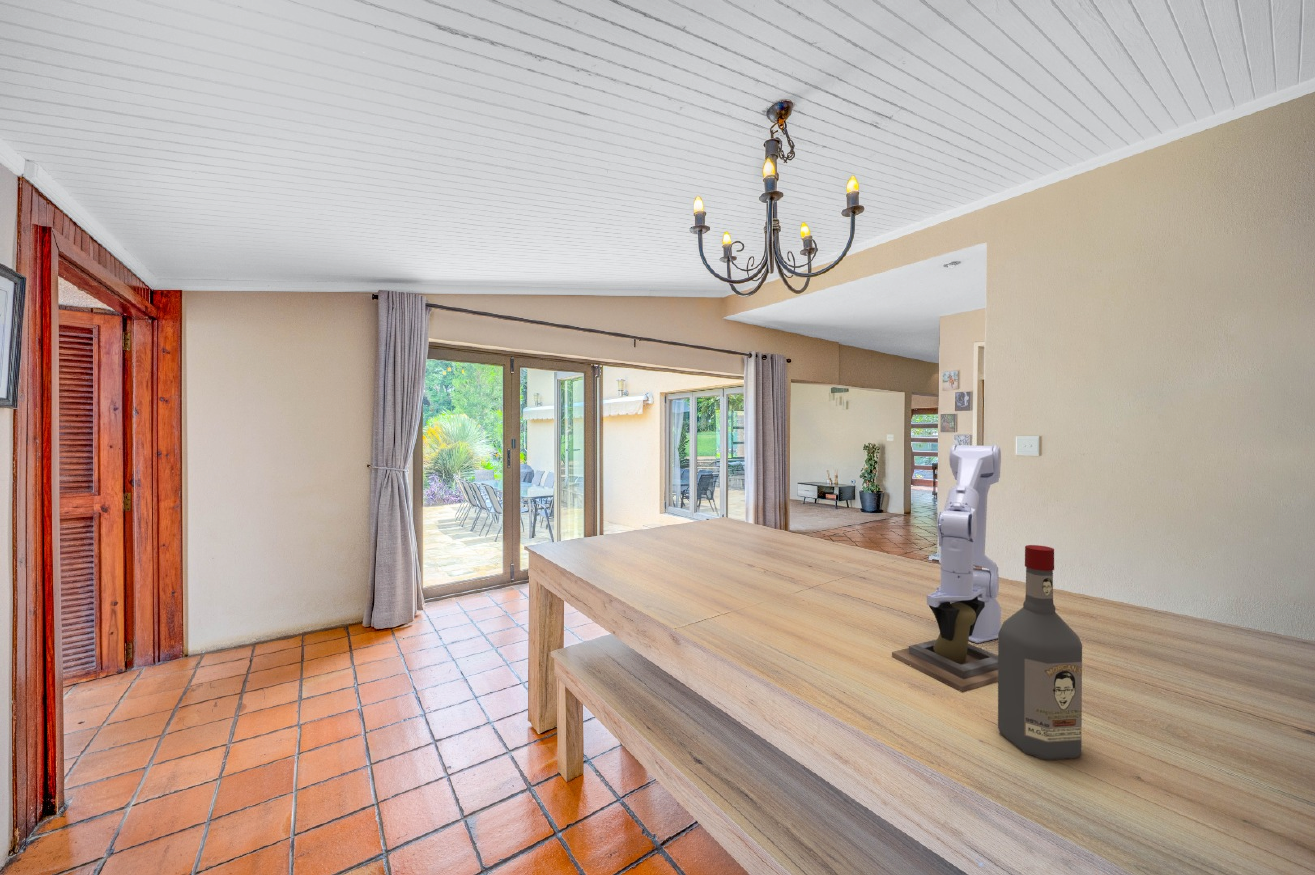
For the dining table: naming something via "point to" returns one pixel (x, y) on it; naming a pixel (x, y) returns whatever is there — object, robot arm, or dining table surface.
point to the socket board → (945, 674)
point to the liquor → (1040, 670)
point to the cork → (957, 635)
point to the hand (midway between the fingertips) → (956, 636)
